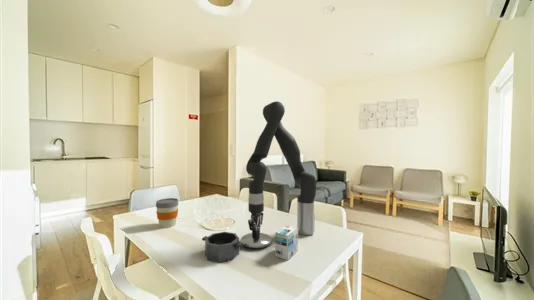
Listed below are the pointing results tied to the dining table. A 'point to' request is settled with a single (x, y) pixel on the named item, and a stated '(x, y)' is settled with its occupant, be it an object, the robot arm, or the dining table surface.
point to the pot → (222, 246)
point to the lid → (256, 240)
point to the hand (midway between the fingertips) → (256, 235)
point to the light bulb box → (286, 242)
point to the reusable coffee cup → (167, 212)
